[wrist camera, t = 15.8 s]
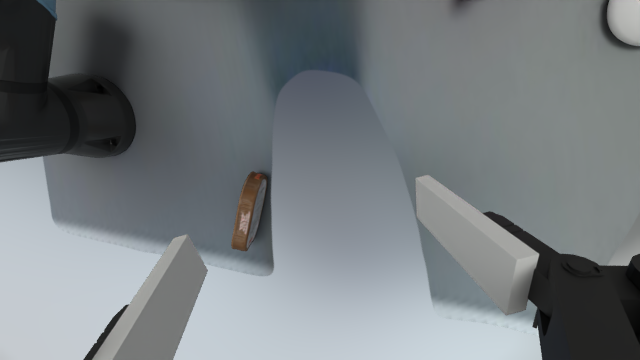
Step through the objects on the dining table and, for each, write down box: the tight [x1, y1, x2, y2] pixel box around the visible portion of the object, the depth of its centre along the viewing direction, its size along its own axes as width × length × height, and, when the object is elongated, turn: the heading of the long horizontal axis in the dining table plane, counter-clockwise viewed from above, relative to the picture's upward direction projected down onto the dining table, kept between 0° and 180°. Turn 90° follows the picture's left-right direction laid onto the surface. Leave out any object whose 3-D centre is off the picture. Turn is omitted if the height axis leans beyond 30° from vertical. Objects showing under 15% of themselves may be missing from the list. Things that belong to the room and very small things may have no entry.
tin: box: [231, 172, 267, 251], centre depth 44 cm, size 15×3×8 cm, turn 165°
